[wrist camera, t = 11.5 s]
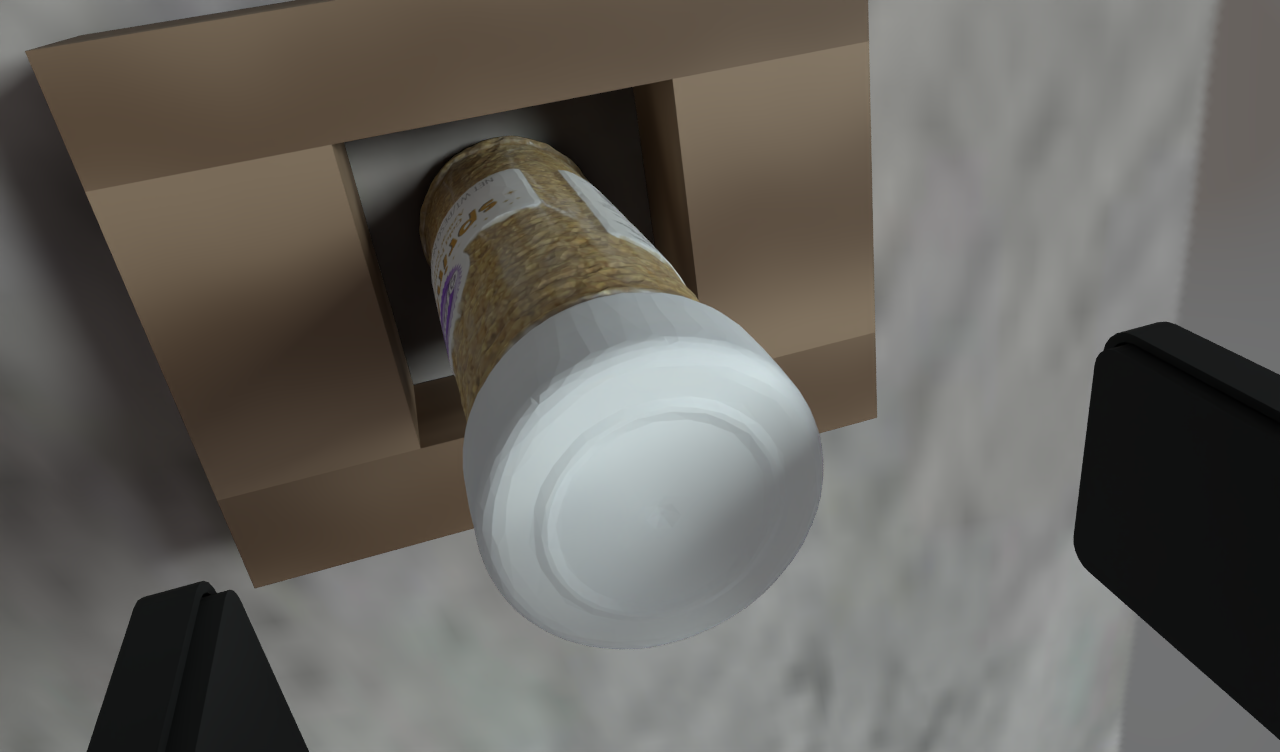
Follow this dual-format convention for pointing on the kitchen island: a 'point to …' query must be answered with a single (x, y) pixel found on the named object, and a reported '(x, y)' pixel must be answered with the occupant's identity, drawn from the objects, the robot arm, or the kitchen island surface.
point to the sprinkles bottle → (607, 411)
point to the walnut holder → (342, 246)
